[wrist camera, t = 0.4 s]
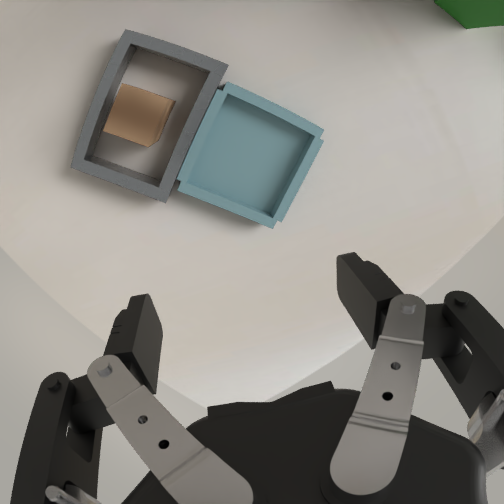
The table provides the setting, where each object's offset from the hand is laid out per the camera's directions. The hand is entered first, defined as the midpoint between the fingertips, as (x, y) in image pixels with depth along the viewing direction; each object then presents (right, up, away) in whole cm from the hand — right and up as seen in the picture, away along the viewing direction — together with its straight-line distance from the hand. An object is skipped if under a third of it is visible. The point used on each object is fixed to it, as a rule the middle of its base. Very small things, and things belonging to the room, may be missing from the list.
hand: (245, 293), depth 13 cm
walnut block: (-12, +18, +19) cm, 29 cm away
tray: (0, +13, +23) cm, 27 cm away
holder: (-12, +18, +19) cm, 29 cm away
